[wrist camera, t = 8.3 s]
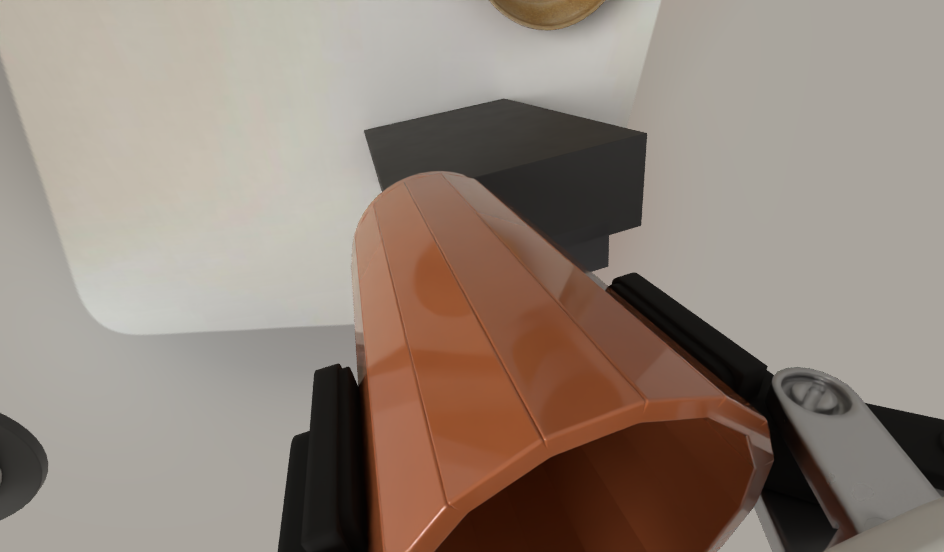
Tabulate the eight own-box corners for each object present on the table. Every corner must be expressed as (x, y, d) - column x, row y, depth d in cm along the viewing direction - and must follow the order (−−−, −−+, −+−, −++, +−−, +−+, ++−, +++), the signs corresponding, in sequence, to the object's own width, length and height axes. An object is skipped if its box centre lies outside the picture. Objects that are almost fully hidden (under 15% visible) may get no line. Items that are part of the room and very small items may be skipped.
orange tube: (378, 339, 18) (432, 713, 7) (327, 194, 14) (297, 532, 4) (519, 296, 19) (730, 571, 9) (504, 153, 15) (828, 333, 5)
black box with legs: (409, 284, 42) (454, 433, 25) (363, 130, 34) (385, 200, 17) (521, 251, 44) (632, 368, 27) (504, 98, 36) (647, 132, 19)
